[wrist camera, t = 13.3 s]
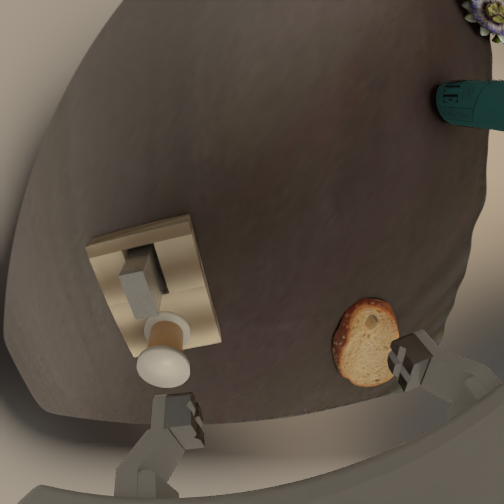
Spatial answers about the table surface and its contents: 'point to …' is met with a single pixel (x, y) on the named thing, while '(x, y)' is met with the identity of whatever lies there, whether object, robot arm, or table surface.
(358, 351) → the slice of bread
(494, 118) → the beverage bottle
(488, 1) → the passion flower
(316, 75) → the table surface
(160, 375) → the bobbin
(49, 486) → the robot arm
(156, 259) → the metal tab
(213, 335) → the slot board
